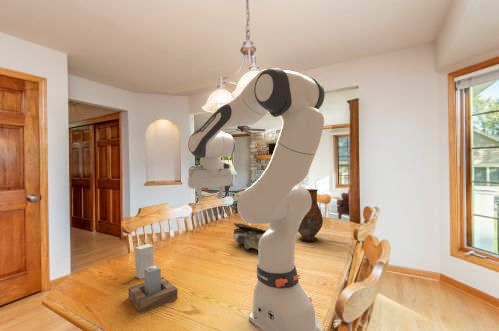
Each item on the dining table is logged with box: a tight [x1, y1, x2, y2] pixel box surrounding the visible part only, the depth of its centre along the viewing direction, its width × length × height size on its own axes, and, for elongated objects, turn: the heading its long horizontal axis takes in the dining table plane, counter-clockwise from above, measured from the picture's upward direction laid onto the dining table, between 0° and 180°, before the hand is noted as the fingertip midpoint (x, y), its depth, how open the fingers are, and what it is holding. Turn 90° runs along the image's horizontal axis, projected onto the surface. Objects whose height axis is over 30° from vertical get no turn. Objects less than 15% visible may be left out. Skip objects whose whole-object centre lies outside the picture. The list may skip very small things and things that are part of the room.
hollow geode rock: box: [232, 223, 267, 251], centre depth 134 cm, size 28×13×15 cm
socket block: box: [128, 276, 178, 314], centre depth 85 cm, size 12×12×4 cm
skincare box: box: [134, 243, 155, 280], centre depth 102 cm, size 6×4×12 cm
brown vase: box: [297, 188, 324, 243], centre depth 146 cm, size 17×21×30 cm
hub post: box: [143, 264, 162, 296], centre depth 85 cm, size 4×4×9 cm
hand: (210, 197), depth 106 cm, fingers open, 8 cm apart
